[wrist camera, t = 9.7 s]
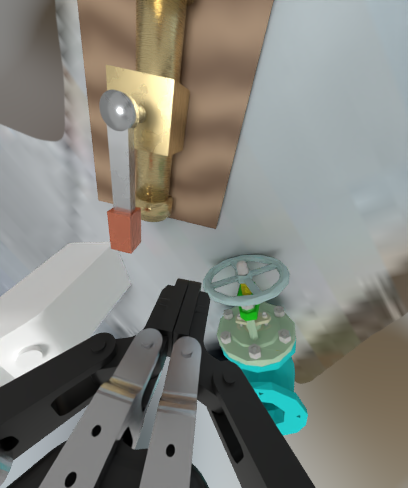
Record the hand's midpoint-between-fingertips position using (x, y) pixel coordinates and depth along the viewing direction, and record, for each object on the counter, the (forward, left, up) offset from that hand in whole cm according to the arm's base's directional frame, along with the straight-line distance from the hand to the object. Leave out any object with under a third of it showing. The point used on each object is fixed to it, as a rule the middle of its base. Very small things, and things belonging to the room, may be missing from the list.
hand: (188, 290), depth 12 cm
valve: (+23, +13, -24) cm, 36 cm away
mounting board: (-8, -10, -24) cm, 27 cm away
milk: (+24, -23, -24) cm, 41 cm away
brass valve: (-8, -10, -24) cm, 27 cm away
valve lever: (-2, -10, -12) cm, 16 cm away
